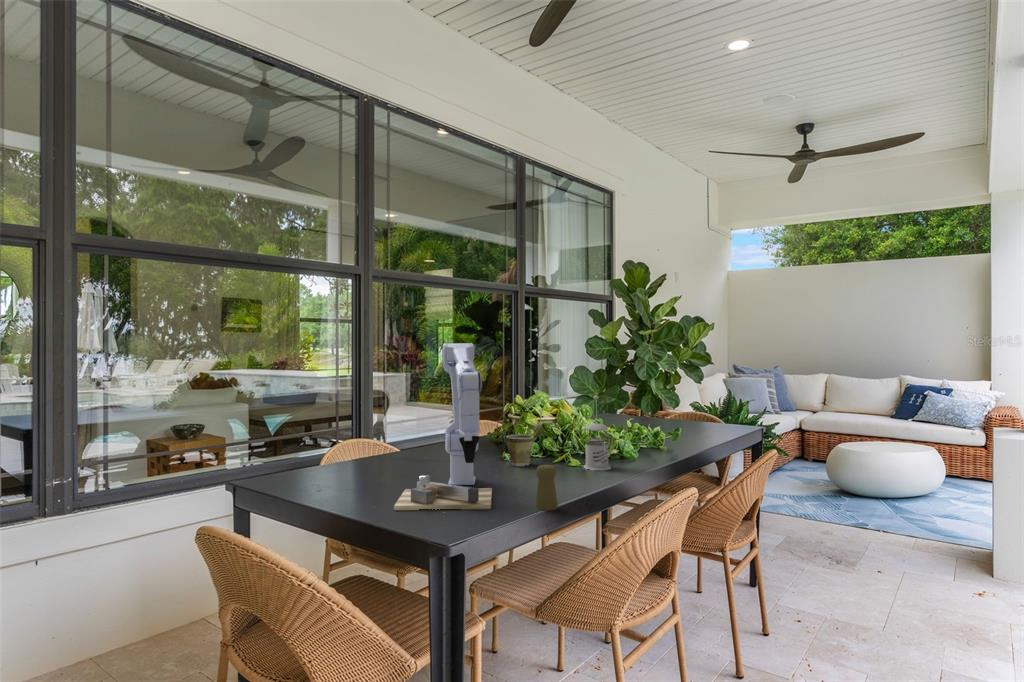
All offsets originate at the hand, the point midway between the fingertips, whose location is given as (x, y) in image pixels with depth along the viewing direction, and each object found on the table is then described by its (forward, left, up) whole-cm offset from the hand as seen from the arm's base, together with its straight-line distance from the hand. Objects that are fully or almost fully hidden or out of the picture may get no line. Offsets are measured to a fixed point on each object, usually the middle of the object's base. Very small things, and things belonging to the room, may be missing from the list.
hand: (469, 462), depth 171 cm
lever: (+7, -6, -8) cm, 12 cm away
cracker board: (+5, -6, -9) cm, 12 cm away
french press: (-38, +43, -10) cm, 58 cm away
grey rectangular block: (+11, -12, -8) cm, 18 cm away
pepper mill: (+13, +21, -10) cm, 26 cm away
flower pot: (-46, +16, -10) cm, 49 cm away
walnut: (+9, -10, -8) cm, 16 cm away
